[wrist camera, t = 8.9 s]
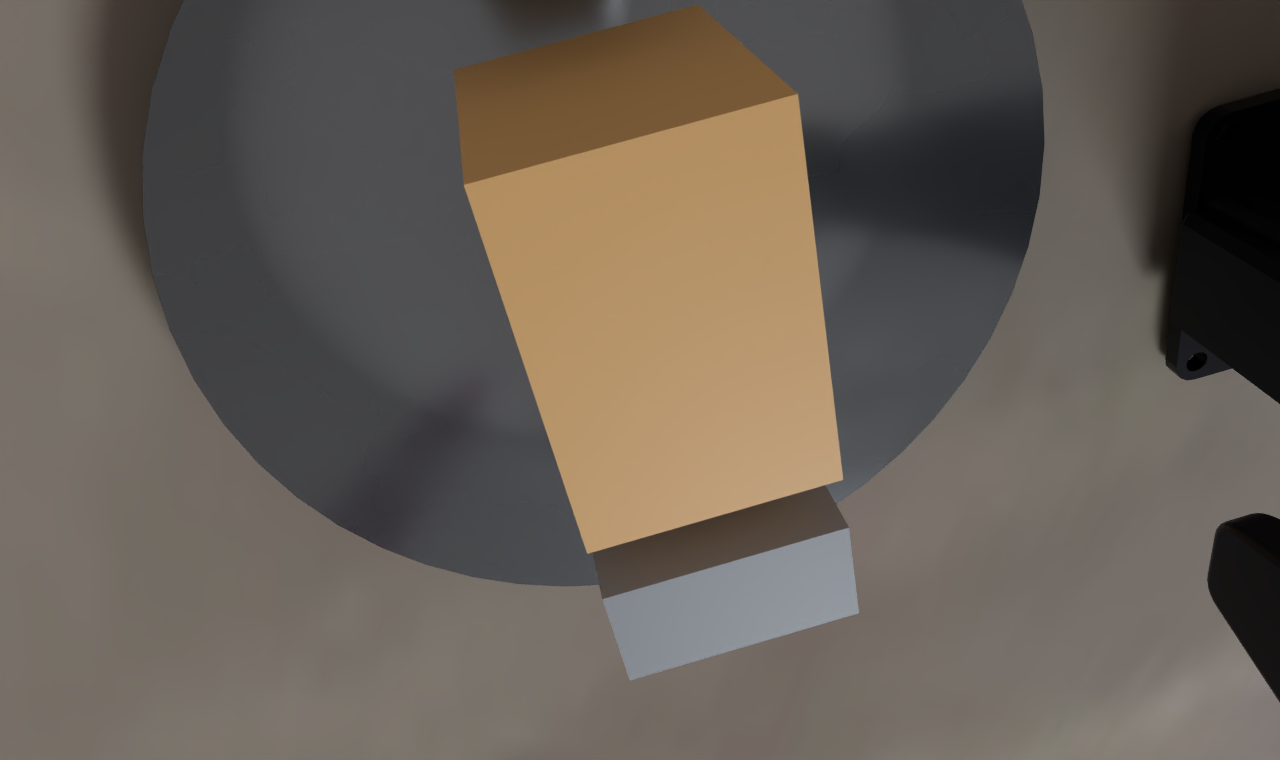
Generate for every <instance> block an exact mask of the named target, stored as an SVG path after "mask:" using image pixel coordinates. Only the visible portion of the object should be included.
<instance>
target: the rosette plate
mask: <svg viewBox="0 0 1280 760" xmlns="http://www.w3.org/2000/svg"><path fill="white" fill-rule="evenodd" d="M697 4H698V5H699V6H700V7H702V8H703V9H704V10H705V11H706V12H707V13H708V14H709V15H711V16H712V17H713V18H714V19H715V20H716V21H717V22H718V23H719V24H721V25H722V26H723V27H724V28H725V29H726V30H727V31H728V32H730V33H731V34H732V35H733V36H734V37H735V38H736V39H737V40H738V41H740V42H741V43H742V44H743V45H744V46H745V47H746V48H747V49H748V50H750V51H751V52H752V53H753V54H754V55H755V56H756V57H757V58H759V59H760V60H761V61H762V62H763V63H764V64H765V65H766V66H767V67H769V68H770V69H771V70H772V71H773V72H774V73H775V74H776V75H778V76H779V77H780V78H781V79H782V80H783V81H784V82H785V83H786V84H788V85H789V86H790V87H791V88H792V89H793V90H794V91H795V92H796V93H798V98H799V107H800V115H801V124H802V132H803V141H804V149H805V158H806V166H807V175H808V183H809V192H810V200H811V209H812V217H813V226H814V235H815V243H816V252H817V260H818V269H819V277H820V286H821V294H822V303H823V311H824V320H825V328H826V337H827V345H828V354H829V363H830V371H831V380H832V388H833V397H834V405H835V414H836V422H837V431H838V439H839V448H840V456H841V465H842V473H843V480H841V481H838V482H834V483H831V484H827V485H826V487H827V489H828V491H829V492H830V494H831V496H832V498H833V500H834V502H835V503H836V504H837V503H838V502H840V501H841V500H842V499H844V498H845V497H847V496H848V495H850V494H851V493H852V492H854V491H855V490H857V489H858V488H859V487H861V486H862V485H864V484H865V483H866V482H868V481H869V480H870V479H871V478H872V477H873V476H875V475H876V474H877V473H878V472H879V471H880V470H882V469H883V468H884V467H885V466H886V465H887V464H889V463H890V462H891V461H892V460H893V459H894V458H896V457H897V456H898V455H899V454H900V453H901V452H902V451H903V450H904V449H905V448H906V447H907V446H908V445H909V444H910V443H911V442H912V441H913V440H914V439H915V438H916V437H917V436H918V435H919V434H920V433H921V432H922V431H923V429H924V428H925V427H926V426H927V425H928V424H929V423H930V422H931V421H932V420H933V419H934V418H935V417H936V415H937V414H938V413H939V412H940V410H941V409H942V408H943V406H944V405H945V404H946V403H947V401H948V400H949V399H950V397H951V396H952V395H953V394H954V392H955V391H956V390H957V389H958V387H959V386H960V385H961V383H962V382H963V381H964V379H965V378H966V376H967V375H968V373H969V371H970V370H971V368H972V367H973V365H974V363H975V362H976V360H977V359H978V357H979V355H980V354H981V352H982V351H983V349H984V347H985V346H986V344H987V343H988V341H989V339H990V338H991V335H992V333H993V331H994V329H995V327H996V325H997V323H998V321H999V319H1000V317H1001V315H1002V313H1003V311H1004V309H1005V306H1006V304H1007V302H1008V300H1009V298H1010V296H1011V294H1012V291H1013V288H1014V286H1015V283H1016V280H1017V277H1018V274H1019V271H1020V268H1021V265H1022V263H1023V260H1024V257H1025V254H1026V251H1027V248H1028V245H1029V241H1030V236H1031V232H1032V227H1033V223H1034V218H1035V213H1036V209H1037V204H1038V200H1039V195H1040V184H1041V174H1042V163H1043V152H1044V120H1043V93H1042V84H1041V78H1040V73H1039V67H1038V61H1037V56H1036V50H1035V44H1034V39H1033V34H1032V30H1031V27H1030V24H1029V21H1028V18H1027V15H1026V12H1025V9H1024V6H1023V3H1022V0H184V2H183V4H182V6H181V8H180V10H179V12H178V14H177V16H176V18H175V20H174V22H173V24H172V27H171V30H170V33H169V36H168V39H167V43H166V46H165V49H164V52H163V56H162V59H161V62H160V65H159V69H158V72H157V75H156V78H155V81H154V85H153V88H152V92H151V99H150V106H149V113H148V120H147V126H146V133H145V140H144V147H143V154H142V165H143V220H144V226H145V232H146V238H147V245H148V251H149V257H150V263H151V269H152V275H153V279H154V282H155V285H156V288H157V291H158V294H159V297H160V301H161V304H162V307H163V310H164V313H165V316H166V319H167V323H168V326H169V329H170V331H171V333H172V336H173V338H174V340H175V342H176V344H177V346H178V348H179V350H180V352H181V354H182V356H183V358H184V360H185V362H186V364H187V366H188V368H189V370H190V373H191V375H192V377H193V379H194V381H195V382H196V384H197V385H198V387H199V388H200V390H201V391H202V393H203V394H204V395H205V397H206V398H207V400H208V401H209V403H210V404H211V406H212V407H213V409H214V410H215V412H216V413H217V415H218V416H219V418H220V419H221V421H222V422H223V424H224V425H225V426H226V427H227V429H228V430H229V431H230V432H231V433H232V434H233V435H234V436H235V438H236V439H237V440H238V441H239V442H240V443H241V444H242V445H243V447H244V448H245V449H246V450H247V451H248V452H249V453H250V454H251V456H252V457H253V458H254V459H255V460H256V461H257V462H258V463H259V464H260V465H261V466H262V467H263V468H264V469H265V470H266V471H268V472H269V473H270V474H271V475H272V476H273V477H274V478H276V479H277V480H278V481H279V482H280V483H281V484H282V485H284V486H285V487H286V488H287V489H288V490H289V491H291V492H292V493H293V494H294V495H295V496H296V497H297V498H299V499H300V500H302V501H303V502H305V503H306V504H308V505H309V506H311V507H312V508H314V509H315V510H317V511H318V512H320V513H321V514H323V515H324V516H326V517H327V518H328V519H330V520H331V521H333V522H334V523H336V524H337V525H339V526H341V527H343V528H345V529H347V530H349V531H351V532H353V533H354V534H356V535H358V536H360V537H362V538H364V539H366V540H368V541H370V542H372V543H374V544H376V545H378V546H380V547H382V548H384V549H387V550H389V551H392V552H395V553H397V554H400V555H402V556H405V557H408V558H410V559H413V560H415V561H418V562H421V563H423V564H426V565H429V566H433V567H437V568H441V569H445V570H448V571H452V572H456V573H460V574H464V575H467V576H471V577H477V578H483V579H490V580H496V581H503V582H509V583H516V584H530V585H549V586H583V585H599V580H598V575H597V571H596V566H595V561H594V556H593V552H592V553H589V554H587V552H586V549H585V546H584V543H583V540H582V537H581V534H580V531H579V528H578V525H577V522H576V519H575V516H574V513H573V510H572V507H571V504H570V501H569V498H568V495H567V492H566V489H565V486H564V483H563V480H562V477H561V474H560V471H559V468H558V465H557V462H556V459H555V456H554V453H553V450H552V447H551V444H550V441H549V438H548V435H547V432H546V429H545V426H544V423H543V420H542V417H541V414H540V411H539V408H538V405H537V402H536V399H535V396H534V393H533V390H532V387H531V384H530V381H529V378H528V375H527V372H526V369H525V366H524V363H523V360H522V357H521V354H520V351H519V348H518V346H517V343H516V340H515V337H514V334H513V331H512V328H511V325H510V322H509V319H508V316H507V313H506V310H505V307H504V304H503V301H502V298H501V295H500V292H499V289H498V286H497V283H496V280H495V277H494V274H493V271H492V268H491V265H490V262H489V259H488V256H487V253H486V250H485V247H484V244H483V241H482V238H481V235H480V232H479V229H478V226H477V223H476V220H475V217H474V214H473V211H472V208H471V205H470V202H469V199H468V196H467V193H466V190H465V187H464V182H463V171H462V159H461V147H460V136H459V124H458V113H457V101H456V89H455V78H454V70H455V69H458V68H462V67H466V66H470V65H473V64H477V63H481V62H485V61H488V60H492V59H496V58H499V57H503V56H507V55H511V54H514V53H518V52H522V51H526V50H529V49H533V48H537V47H540V46H544V45H548V44H552V43H555V42H559V41H563V40H567V39H570V38H574V37H578V36H582V35H585V34H589V33H593V32H596V31H600V30H604V29H608V28H611V27H615V26H619V25H623V24H626V23H630V22H634V21H637V20H641V19H645V18H649V17H652V16H656V15H660V14H664V13H667V12H671V11H675V10H679V9H682V8H686V7H690V6H693V5H697Z"/></svg>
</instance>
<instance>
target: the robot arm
mask: <svg viewBox="0 0 1280 760" xmlns="http://www.w3.org/2000/svg"><path fill="white" fill-rule="evenodd" d="M1226 126H1228V127H1227V129H1226V132H1225V134H1224V135H1223V136H1222V137H1221V138H1220V139H1218V140H1217V138H1218V135H1219V133H1220V132H1221V130H1222V129H1223V128H1224V127H1226ZM1192 356H1193V357H1192ZM1191 357H1192V358H1191ZM1190 358H1191V359H1190ZM1166 365H1167V367H1168V368H1169V369H1170V370H1171V371H1172V372H1174V373H1175V374H1176V375H1177V376H1179V377H1180V378H1181V379H1185V380H1192V379H1197V378H1200V377H1204V376H1207V375H1211V374H1214V373H1218V372H1221V371H1225V370H1228V369H1231V368H1233V369H1234V370H1235V371H1237V372H1238V373H1239V374H1241V375H1242V376H1243V377H1245V378H1246V379H1247V380H1249V381H1250V382H1251V383H1253V384H1254V385H1255V386H1257V387H1258V388H1259V389H1261V390H1262V391H1263V392H1265V393H1266V394H1267V395H1269V396H1270V397H1271V398H1273V399H1274V400H1275V401H1277V402H1278V403H1279V404H1280V89H1277V90H1274V91H1270V92H1267V93H1263V94H1260V95H1256V96H1252V97H1249V98H1245V99H1242V100H1238V101H1234V102H1231V103H1227V104H1224V105H1220V106H1217V107H1215V108H1213V109H1211V110H1209V111H1208V112H1207V113H1206V114H1205V115H1204V116H1202V117H1201V119H1200V120H1199V122H1198V123H1197V125H1196V126H1195V129H1194V132H1193V135H1192V142H1191V151H1190V159H1189V167H1188V176H1187V184H1186V192H1185V201H1184V209H1183V217H1182V225H1181V229H1180V238H1179V246H1178V254H1177V263H1176V271H1175V279H1174V288H1173V296H1172V304H1171V313H1170V325H1169V334H1168V342H1167V350H1166ZM1207 581H1208V588H1209V591H1210V594H1211V597H1212V599H1213V601H1214V603H1215V604H1216V606H1217V608H1218V609H1219V611H1220V612H1221V614H1222V615H1223V617H1224V618H1225V620H1226V621H1227V623H1228V624H1229V626H1230V627H1231V629H1232V630H1233V632H1234V633H1235V635H1236V637H1237V638H1238V640H1239V641H1240V643H1241V644H1242V646H1243V647H1244V649H1245V650H1246V652H1247V653H1248V655H1249V656H1250V658H1251V659H1252V661H1253V662H1254V664H1255V666H1256V667H1257V669H1258V670H1259V672H1260V673H1261V675H1262V676H1263V678H1264V679H1265V681H1266V682H1267V684H1268V685H1269V687H1270V688H1271V690H1272V691H1273V693H1274V694H1275V696H1276V698H1277V699H1278V701H1279V702H1280V519H1278V518H1276V517H1273V516H1270V515H1267V514H1262V513H1255V514H1250V515H1246V516H1243V517H1240V518H1236V519H1233V520H1230V521H1226V522H1224V523H1222V524H1221V525H1220V526H1219V527H1218V528H1217V530H1216V533H1215V537H1214V543H1213V548H1212V554H1211V560H1210V565H1209V571H1208V578H1207Z"/></svg>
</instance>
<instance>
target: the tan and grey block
mask: <svg viewBox="0 0 1280 760" xmlns="http://www.w3.org/2000/svg"><path fill="white" fill-rule="evenodd" d="M454 78H455V89H456V101H457V113H458V124H459V136H460V147H461V159H462V171H463V182H464V187H465V190H466V193H467V196H468V199H469V202H470V205H471V208H472V211H473V214H474V217H475V220H476V223H477V226H478V229H479V232H480V235H481V238H482V241H483V244H484V247H485V250H486V253H487V256H488V259H489V262H490V265H491V268H492V271H493V274H494V277H495V280H496V283H497V286H498V289H499V292H500V295H501V298H502V301H503V304H504V307H505V310H506V313H507V316H508V319H509V322H510V325H511V328H512V331H513V334H514V337H515V340H516V343H517V346H518V348H519V351H520V354H521V357H522V360H523V363H524V366H525V369H526V372H527V375H528V378H529V381H530V384H531V387H532V390H533V393H534V396H535V399H536V402H537V405H538V408H539V411H540V414H541V417H542V420H543V423H544V426H545V429H546V432H547V435H548V438H549V441H550V444H551V447H552V450H553V453H554V456H555V459H556V462H557V465H558V468H559V471H560V474H561V477H562V480H563V483H564V486H565V489H566V492H567V495H568V498H569V501H570V504H571V507H572V510H573V513H574V516H575V519H576V522H577V525H578V528H579V531H580V534H581V537H582V540H583V543H584V546H585V549H586V552H587V554H589V553H592V552H593V556H594V561H595V566H596V571H597V575H598V580H599V585H600V590H601V595H602V599H603V602H604V605H605V608H606V611H607V614H608V617H609V620H610V623H611V626H612V629H613V632H614V635H615V638H616V641H617V644H618V647H619V650H620V653H621V656H622V659H623V662H624V665H625V668H626V671H627V674H628V677H629V680H634V679H637V678H640V677H644V676H647V675H651V674H654V673H657V672H661V671H664V670H667V669H671V668H674V667H678V666H681V665H684V664H688V663H691V662H695V661H698V660H701V659H705V658H708V657H712V656H715V655H718V654H722V653H725V652H729V651H732V650H735V649H739V648H742V647H746V646H749V645H752V644H756V643H759V642H763V641H766V640H769V639H773V638H776V637H779V636H783V635H786V634H790V633H793V632H796V631H800V630H803V629H807V628H810V627H813V626H817V625H820V624H824V623H827V622H830V621H834V620H837V619H841V618H844V617H847V616H851V615H854V614H858V613H859V610H858V601H857V593H856V584H855V576H854V567H853V559H852V550H851V542H850V533H849V527H848V525H847V523H846V522H845V520H844V518H843V516H842V514H841V512H840V511H839V509H838V507H837V505H836V503H835V502H834V500H833V498H832V496H831V494H830V492H829V491H828V489H827V487H826V485H827V484H831V483H834V482H838V481H841V480H843V473H842V465H841V456H840V448H839V439H838V431H837V422H836V414H835V405H834V397H833V388H832V380H831V371H830V363H829V354H828V345H827V337H826V328H825V320H824V311H823V303H822V294H821V286H820V277H819V269H818V260H817V252H816V243H815V235H814V226H813V217H812V209H811V200H810V192H809V183H808V175H807V166H806V158H805V149H804V141H803V132H802V124H801V115H800V107H799V98H798V93H796V92H795V91H794V90H793V89H792V88H791V87H790V86H789V85H788V84H786V83H785V82H784V81H783V80H782V79H781V78H780V77H779V76H778V75H776V74H775V73H774V72H773V71H772V70H771V69H770V68H769V67H767V66H766V65H765V64H764V63H763V62H762V61H761V60H760V59H759V58H757V57H756V56H755V55H754V54H753V53H752V52H751V51H750V50H748V49H747V48H746V47H745V46H744V45H743V44H742V43H741V42H740V41H738V40H737V39H736V38H735V37H734V36H733V35H732V34H731V33H730V32H728V31H727V30H726V29H725V28H724V27H723V26H722V25H721V24H719V23H718V22H717V21H716V20H715V19H714V18H713V17H712V16H711V15H709V14H708V13H707V12H706V11H705V10H704V9H703V8H702V7H700V6H699V5H698V4H697V5H693V6H690V7H686V8H682V9H679V10H675V11H671V12H667V13H664V14H660V15H656V16H652V17H649V18H645V19H641V20H637V21H634V22H630V23H626V24H623V25H619V26H615V27H611V28H608V29H604V30H600V31H596V32H593V33H589V34H585V35H582V36H578V37H574V38H570V39H567V40H563V41H559V42H555V43H552V44H548V45H544V46H540V47H537V48H533V49H529V50H526V51H522V52H518V53H514V54H511V55H507V56H503V57H499V58H496V59H492V60H488V61H485V62H481V63H477V64H473V65H470V66H466V67H462V68H458V69H455V70H454Z"/></svg>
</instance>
